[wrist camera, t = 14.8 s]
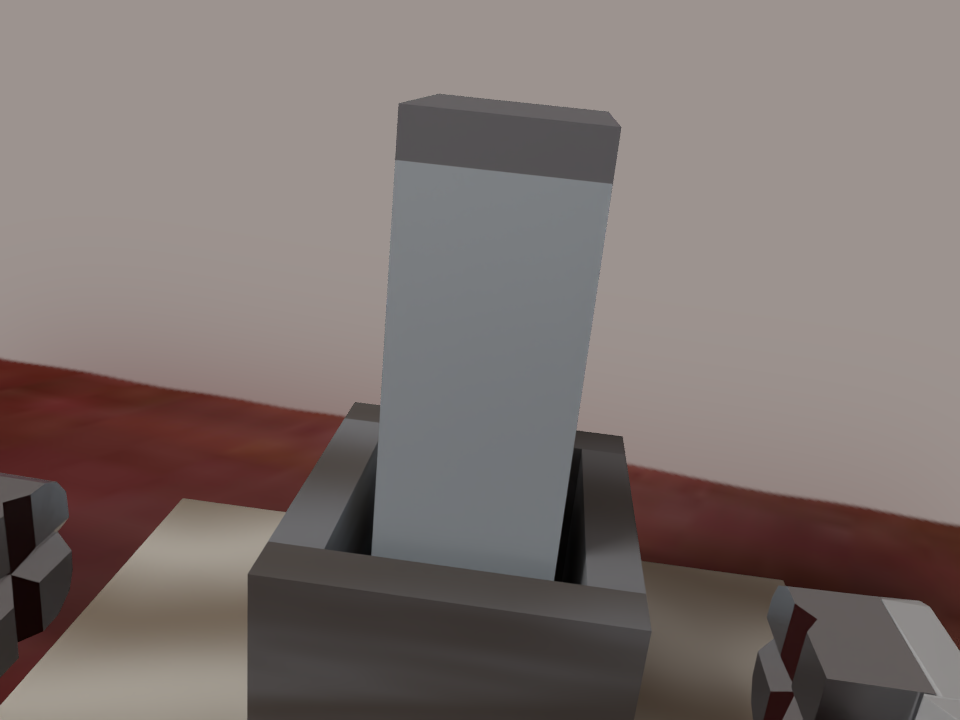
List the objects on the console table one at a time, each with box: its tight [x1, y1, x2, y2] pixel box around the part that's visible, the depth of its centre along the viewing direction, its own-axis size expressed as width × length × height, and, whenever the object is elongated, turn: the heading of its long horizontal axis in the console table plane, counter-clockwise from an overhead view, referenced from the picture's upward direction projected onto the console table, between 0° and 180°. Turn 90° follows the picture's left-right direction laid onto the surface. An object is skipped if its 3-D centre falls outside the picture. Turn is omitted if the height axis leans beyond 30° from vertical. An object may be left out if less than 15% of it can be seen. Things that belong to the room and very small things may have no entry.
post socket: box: [0, 402, 785, 720], centre depth 22 cm, size 12×20×6 cm, turn 84°
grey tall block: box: [371, 94, 621, 581], centre depth 20 cm, size 5×4×14 cm
